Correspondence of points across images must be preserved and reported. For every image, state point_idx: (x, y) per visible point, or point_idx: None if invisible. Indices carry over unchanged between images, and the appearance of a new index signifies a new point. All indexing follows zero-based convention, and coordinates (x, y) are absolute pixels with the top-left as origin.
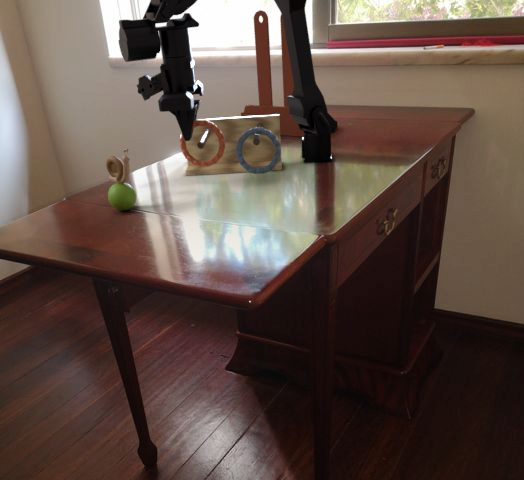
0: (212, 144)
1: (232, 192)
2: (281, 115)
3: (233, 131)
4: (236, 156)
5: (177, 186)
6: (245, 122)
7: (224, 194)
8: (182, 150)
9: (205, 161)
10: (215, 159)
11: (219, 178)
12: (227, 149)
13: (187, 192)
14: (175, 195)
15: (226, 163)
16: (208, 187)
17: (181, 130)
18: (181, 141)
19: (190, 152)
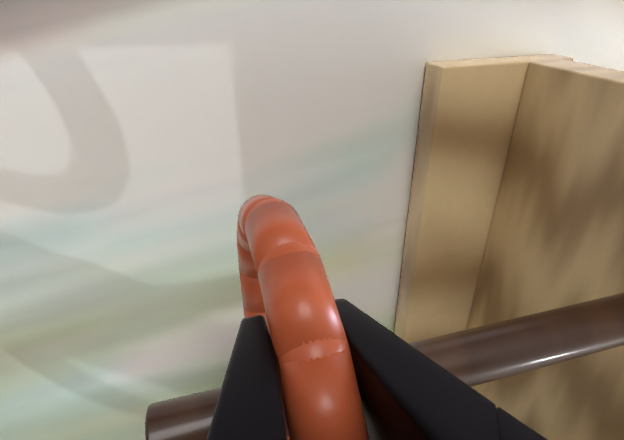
0: (570, 257)
1: (112, 355)
2: None
3: (583, 403)
4: (492, 311)
5: (219, 51)
6: None
7: (77, 335)
8: (244, 218)
9: (253, 302)
10: None
11: (333, 247)
12: (525, 303)
13: (94, 148)
14: (20, 83)
15: (483, 253)
16: (192, 237)
17: (215, 420)
18: (259, 269)
19: (582, 105)
